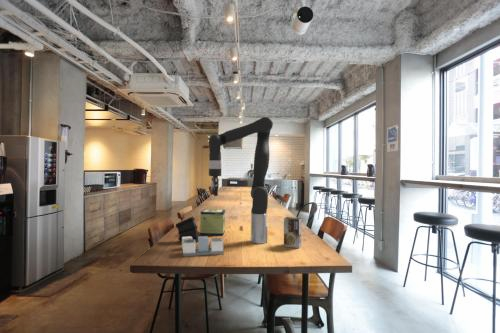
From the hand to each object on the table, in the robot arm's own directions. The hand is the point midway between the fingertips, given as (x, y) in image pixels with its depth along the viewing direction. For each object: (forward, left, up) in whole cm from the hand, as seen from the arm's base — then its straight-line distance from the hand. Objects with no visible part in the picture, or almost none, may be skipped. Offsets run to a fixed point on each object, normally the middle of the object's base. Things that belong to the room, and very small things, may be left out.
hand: (214, 195), depth 157 cm
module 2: (+8, +21, -26) cm, 34 cm away
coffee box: (-43, +18, -28) cm, 54 cm away
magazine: (+16, -2, -28) cm, 32 cm away
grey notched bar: (+8, +21, -28) cm, 36 cm away
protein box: (-1, -19, -28) cm, 34 cm away
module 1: (+16, +11, -28) cm, 34 cm away
